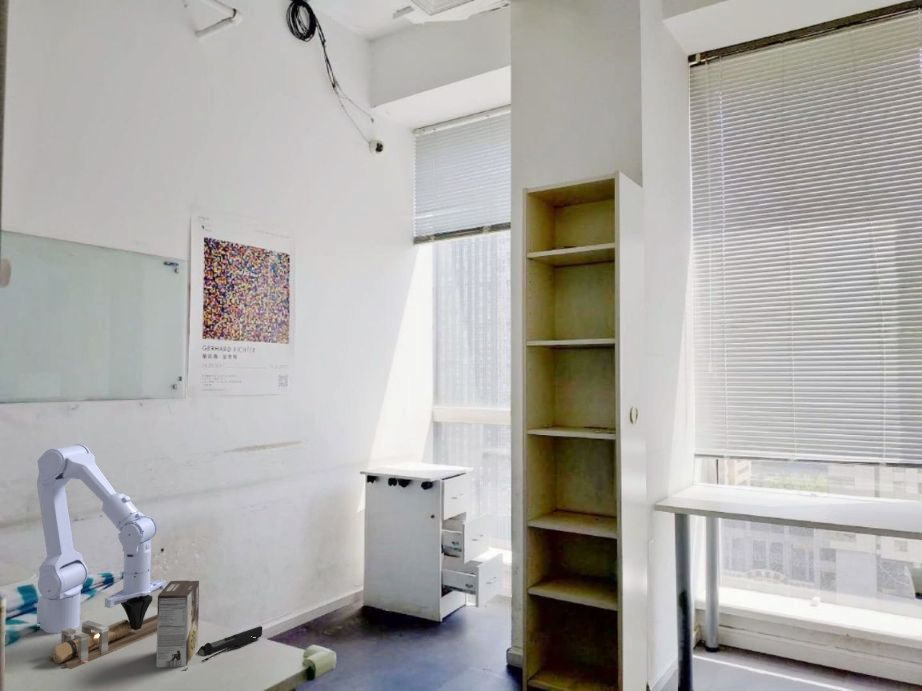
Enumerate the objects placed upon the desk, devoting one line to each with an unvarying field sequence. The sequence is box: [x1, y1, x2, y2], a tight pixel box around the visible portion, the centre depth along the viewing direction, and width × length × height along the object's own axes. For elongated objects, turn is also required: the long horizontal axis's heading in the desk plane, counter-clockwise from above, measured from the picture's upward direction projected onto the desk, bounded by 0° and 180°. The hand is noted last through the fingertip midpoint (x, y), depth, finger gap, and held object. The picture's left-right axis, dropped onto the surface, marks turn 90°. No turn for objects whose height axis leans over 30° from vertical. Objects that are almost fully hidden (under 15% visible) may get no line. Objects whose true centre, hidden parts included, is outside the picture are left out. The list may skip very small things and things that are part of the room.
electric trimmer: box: [197, 625, 263, 662], centre depth 148 cm, size 4×16×3 cm, turn 140°
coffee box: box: [155, 580, 200, 672], centre depth 140 cm, size 9×6×16 cm
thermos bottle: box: [51, 619, 131, 665], centre depth 144 cm, size 16×4×4 cm, turn 154°
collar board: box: [45, 614, 157, 670], centre depth 148 cm, size 9×26×6 cm, turn 152°
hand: (135, 628), depth 152 cm, fingers closed
